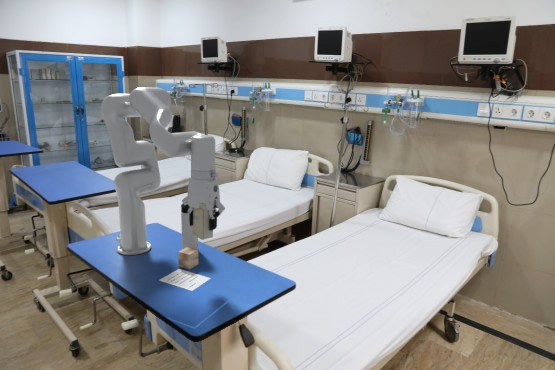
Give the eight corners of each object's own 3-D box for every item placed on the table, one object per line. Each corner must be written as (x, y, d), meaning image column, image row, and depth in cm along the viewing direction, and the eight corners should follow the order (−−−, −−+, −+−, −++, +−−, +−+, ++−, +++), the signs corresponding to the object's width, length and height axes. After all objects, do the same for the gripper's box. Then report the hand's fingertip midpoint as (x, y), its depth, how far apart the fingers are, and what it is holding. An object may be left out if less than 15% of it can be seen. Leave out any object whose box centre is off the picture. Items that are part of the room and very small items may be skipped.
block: (178, 267, 143) (178, 251, 141) (187, 262, 147) (187, 247, 146) (189, 270, 140) (189, 254, 139) (198, 265, 145) (198, 249, 143)
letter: (158, 281, 132) (158, 280, 132) (179, 269, 141) (178, 268, 141) (192, 291, 126) (192, 290, 126) (210, 279, 134) (210, 278, 134)
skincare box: (192, 234, 131) (192, 199, 128) (204, 231, 134) (204, 197, 131) (202, 240, 127) (202, 204, 124) (214, 237, 130) (214, 202, 126)
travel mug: (202, 250, 157) (201, 202, 152) (188, 255, 152) (187, 206, 147) (192, 246, 161) (191, 199, 156) (179, 251, 156) (177, 202, 151)
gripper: (232, 176, 125) (231, 228, 129) (188, 168, 132) (188, 218, 136) (219, 180, 118) (218, 236, 123) (173, 172, 125) (174, 225, 130)
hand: (203, 226), depth 130 cm, fingers closed on skincare box, 7 cm apart
